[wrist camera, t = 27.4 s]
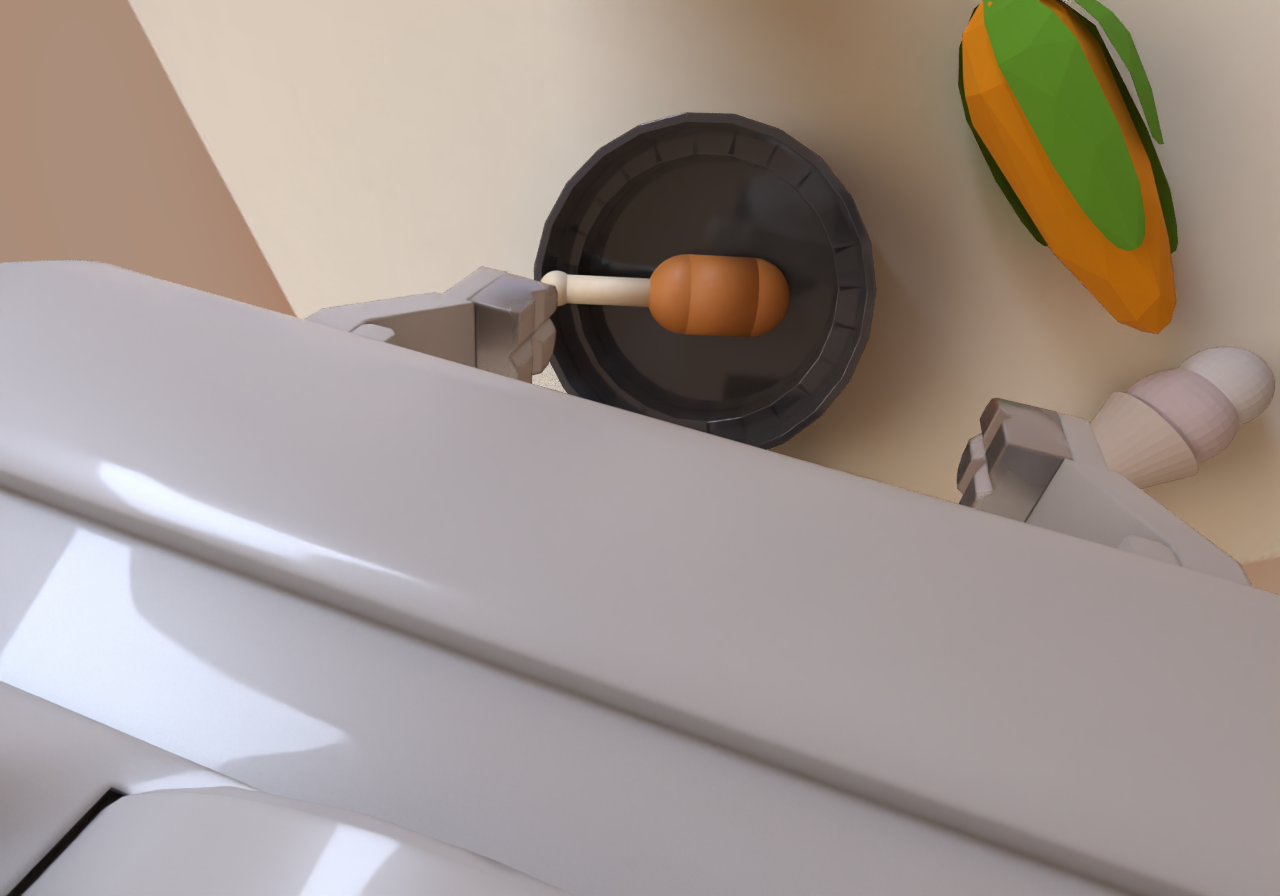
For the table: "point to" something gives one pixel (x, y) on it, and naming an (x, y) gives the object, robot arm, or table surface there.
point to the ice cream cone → (1182, 415)
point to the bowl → (719, 226)
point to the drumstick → (691, 294)
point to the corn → (1074, 147)
